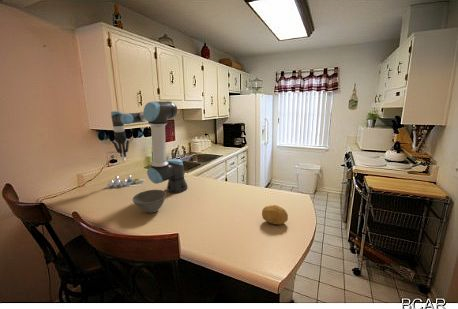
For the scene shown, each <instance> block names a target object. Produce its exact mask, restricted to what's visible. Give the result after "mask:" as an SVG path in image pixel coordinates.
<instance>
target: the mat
mask: <svg viewBox="0 0 458 309" xmlns="http://www.w3.org/2000/svg"><path fill="white" fill-rule="evenodd" d="M133 180H134V179H132V181H131V182H128V180H127V186H126V187H127V188H128V187H140V186H142V184H143V183H145V182H144V181H145V180H146V179H140V183H138V184H134V183H133ZM113 182H114V187H112V188H110V184H109V183H108V185H106V187H105V189H114V188H115V189H116V188H118V187H117V185H116V182H115V180H113ZM120 183H121V186H120V187H119V188H126V187H124V186H123V181H122V180H120Z"/></svg>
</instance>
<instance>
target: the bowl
mask: <svg viewBox="0 0 458 309" xmlns="http://www.w3.org/2000/svg"><path fill="white" fill-rule="evenodd" d="M166 195H167V193H166V191H165V190H162V189H149V190H143V191H141V192H139V193H137V194H135V195H134V196H133V197H132V202H133V203H134V205H135V206H136V207H137V208H138V209H139V210H140V211H142V212H143V213H146V214H152V213H155V212H157V211H159V210H160V209H161V208H162V206H163V204H164V202H165V198H166Z"/></svg>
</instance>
